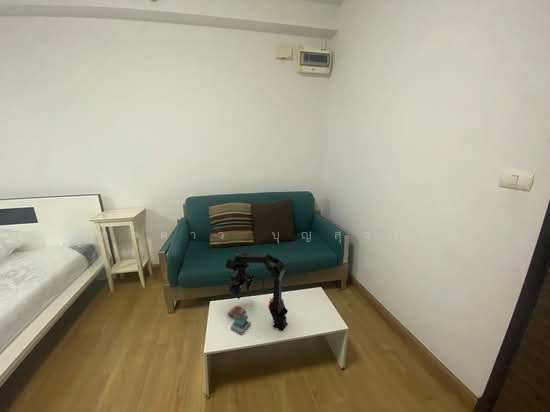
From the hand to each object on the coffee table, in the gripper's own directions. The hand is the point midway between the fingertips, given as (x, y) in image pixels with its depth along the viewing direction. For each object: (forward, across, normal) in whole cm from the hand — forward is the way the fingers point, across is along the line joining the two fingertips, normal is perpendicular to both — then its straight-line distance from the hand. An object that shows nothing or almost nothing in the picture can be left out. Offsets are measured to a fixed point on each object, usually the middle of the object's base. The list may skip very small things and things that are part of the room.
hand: (243, 294), depth 142 cm
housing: (+10, +12, +7) cm, 17 cm away
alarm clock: (+12, -12, +17) cm, 24 cm away
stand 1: (+12, +5, -2) cm, 13 cm away
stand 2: (+12, +12, +7) cm, 18 cm away
